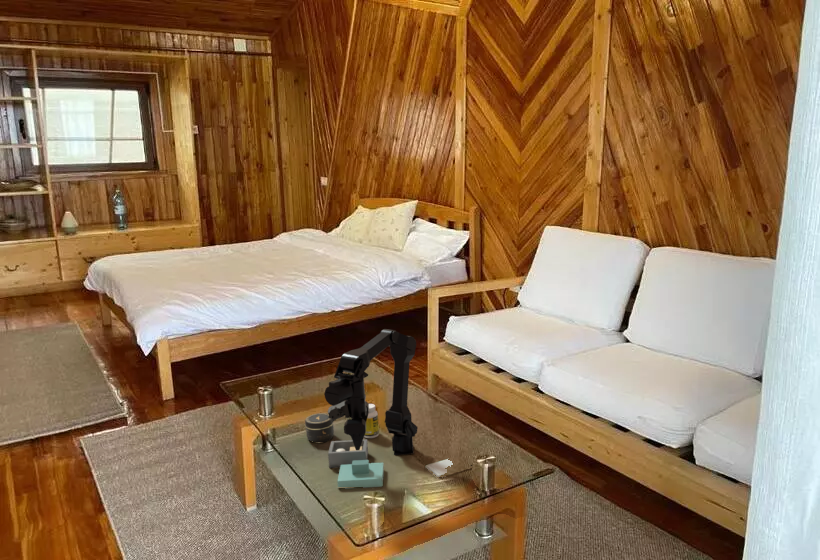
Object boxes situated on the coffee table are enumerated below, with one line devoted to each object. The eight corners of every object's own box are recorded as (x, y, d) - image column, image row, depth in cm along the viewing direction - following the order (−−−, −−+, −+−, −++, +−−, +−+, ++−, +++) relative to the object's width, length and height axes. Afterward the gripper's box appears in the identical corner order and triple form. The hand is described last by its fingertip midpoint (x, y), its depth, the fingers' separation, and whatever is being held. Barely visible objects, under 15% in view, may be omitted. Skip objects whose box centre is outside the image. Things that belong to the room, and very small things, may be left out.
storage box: (368, 453, 206) (367, 439, 205) (366, 465, 197) (365, 451, 196) (332, 455, 206) (331, 441, 205) (329, 467, 197) (328, 453, 196)
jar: (312, 446, 213) (310, 425, 212) (302, 436, 222) (300, 416, 221) (338, 439, 218) (337, 419, 217) (328, 429, 227) (326, 410, 225)
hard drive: (459, 454, 199) (425, 464, 193) (472, 465, 192) (438, 475, 186) (459, 459, 199) (425, 469, 194) (472, 470, 192) (438, 480, 186)
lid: (383, 469, 194) (382, 453, 193) (382, 486, 183) (381, 469, 183) (341, 472, 194) (340, 455, 193) (337, 488, 183) (336, 471, 182)
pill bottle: (376, 439, 216) (374, 409, 215) (359, 438, 218) (357, 409, 216) (381, 431, 222) (379, 403, 220) (364, 431, 224) (362, 402, 222)
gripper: (332, 385, 193) (335, 432, 196) (324, 407, 175) (328, 458, 177) (367, 383, 193) (370, 430, 196) (363, 405, 175) (367, 456, 177)
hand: (358, 443), depth 186 cm, fingers open, 9 cm apart
